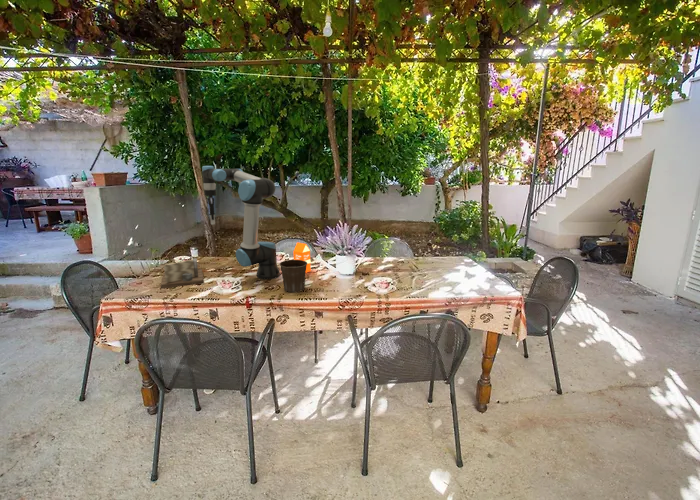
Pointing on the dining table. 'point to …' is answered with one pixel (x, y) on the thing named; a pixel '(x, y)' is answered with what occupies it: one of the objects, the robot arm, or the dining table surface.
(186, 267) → the leg panel
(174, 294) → the dining table surface
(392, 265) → the dining table surface
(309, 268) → the orange juice
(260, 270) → the robot arm
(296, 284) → the plant pot
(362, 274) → the dining table surface
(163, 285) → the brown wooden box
